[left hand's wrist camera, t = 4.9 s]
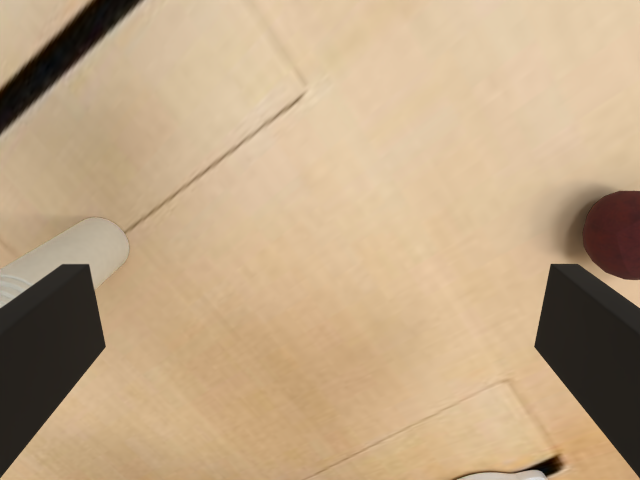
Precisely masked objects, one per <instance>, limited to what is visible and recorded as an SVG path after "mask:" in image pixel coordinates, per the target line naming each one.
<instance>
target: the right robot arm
mask: <svg viewBox="0 0 640 480" xmlns="http://www.w3.org/2000/svg"><path fill="white" fill-rule="evenodd" d="M457 480H548V479H547V477H546V476H545V475H544V474H543V473H542V472H541V471H539V470H529V471H524V472H519V473H513V474H509V473H497V472H486V473H477V474H472V475H468V476H465V477H462V478H459V479H457Z"/></svg>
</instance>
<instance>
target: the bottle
mask: <svg viewBox="0 0 640 480" xmlns="http://www.w3.org/2000/svg"><path fill="white" fill-rule="evenodd" d="M128 254H129V242H128V239H127V237H126V235H125V233H124V232H123V231H122V229H121V228H120V227H119V226H117V225H116V224H115V223H113V222H111V221H110V220H107V219H104V218H98V217H93V218H87V219H84V220H82V221H81V222H79V223H77V224H76V225H74V226H72V227H71V228H69V229H67V230H66V231H64V232H62V233H60V234H59V235H57V236H55V237H54V238H52V239H50V240H49V241H47V242H45V243H44V244H42V245H40V246H38V247H37V248H35V249H33V250H32V251H30V252H28V253H27V254H25V255H23V256H22V257H20V258H18V259H16V260H15V261H13V262H11V263H10V264H8V265H6V266H5V267H3V268H1V269H0V308H1V307H3V306H4V305H6V304H7V303H8V302H10V301H11V300H13V299H14V298H15V297H17V296H18V295H20V294H21V293H22V292H24V291H25V290H27V289H28V288H29V287H31V286H32V285H34V284H35V283H36V282H38V281H39V280H41V279H42V278H43V277H45V276H46V275H48V274H49V273H50V272H52V271H53V270H55V269H56V268H57V267H59V266H60V265H62V264H89V266H90V271H91V276H92V281H93V286H94V291H95V290H96V289H97V288H98V287H99V286H100V285H101V284H102V283H103V282H104V281H105V280H106V279H107V278H109V277H110V276H111V275H112V274H113V273H114V272H115V271H116V270H117V269H118V268H119V267H120V266H121V265H122V264H123V263H124V262H125V261H126V259H127V257H128Z"/></svg>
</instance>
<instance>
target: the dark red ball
mask: <svg viewBox="0 0 640 480" xmlns="http://www.w3.org/2000/svg"><path fill="white" fill-rule="evenodd" d="M583 241H584V248H585V250H586V252H587V253H588V255H589V256H590V258H591V259H592V261H593V262H594V263H595V264H597V265H598V266H599V267H600V268H601V269H602V270H604V271H605V272H606V273H609V274H612V275H614V276H617V277H620V278H622V279H628V280H640V191H618V192H615V193H612V194H609V195H607V196H604V197H603V198H601V199H600V200H599V201H598V202H597V203H595V204H594V205H593V207H592V208H591V210H590V212H589V213H588V215H587V218H586V222H585V225H584V229H583Z"/></svg>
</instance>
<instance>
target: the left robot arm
mask: <svg viewBox="0 0 640 480" xmlns="http://www.w3.org/2000/svg"><path fill="white" fill-rule="evenodd" d="M105 347H106V346H105V341H104V336H103V331H102V326H101V321H100V316H99V311H98V306H97V301H96V296H95V291H94V286H93V281H92V276H91V271H90V266H89V264H62V265H60V266H59V267H57V268H56V269H55V270H53V271H52V272H50V273H49V274H48V275H46V276H45V277H43V278H42V279H41V280H39V281H38V282H36V283H35V284H34V285H32V286H31V287H29V288H28V289H27V290H25V291H24V292H22V293H21V294H20V295H18V296H17V297H15V298H14V299H13V300H11V301H10V302H8V303H7V304H6V305H4V306H3V307H1V308H0V478H1V477H2V475H3V474H4V473H5V472H6V470H7V469H8V468H9V467H10V465H11V464H12V463H13V462H14V460H15V459H16V458H17V457H18V455H19V454H20V453H21V452H22V450H23V449H24V448H25V447H26V445H27V444H28V443H29V442H30V440H31V439H32V438H33V437H34V435H35V434H36V433H37V432H38V430H39V429H40V428H41V427H42V426H43V424H44V423H45V422H46V421H47V419H48V418H49V417H50V416H51V414H52V413H53V412H54V411H55V409H56V408H57V407H58V406H59V404H60V403H61V402H62V401H63V399H64V398H65V397H66V396H67V394H68V393H69V392H70V391H71V389H72V388H73V387H74V386H75V384H76V383H77V382H78V381H79V379H80V378H81V377H82V376H83V374H84V373H85V372H86V371H87V369H88V368H89V367H90V366H91V364H92V363H93V362H94V361H95V360H96V358H97V357H98V356H99V355H100V353H101V352H102V351H103V350H104V348H105ZM534 347H535V348H536V350H537V351H538V352H539V353H540V355H541V356H542V357H543V358H544V360H545V361H546V362H547V363H548V364H549V366H550V367H551V368H552V369H553V371H554V372H555V373H556V374H557V376H558V377H559V378H560V379H561V381H562V382H563V383H564V384H565V386H566V387H567V388H568V389H569V391H570V392H571V393H572V394H573V396H574V397H575V398H576V399H577V401H578V402H579V403H580V404H581V406H582V407H583V408H584V409H585V411H586V412H587V413H588V414H589V416H590V417H591V418H592V419H593V421H594V422H595V423H596V424H597V426H598V427H599V428H600V429H601V430H602V432H603V433H604V434H605V435H606V437H607V438H608V439H609V440H610V442H611V443H612V444H613V445H614V447H615V448H616V449H617V450H618V452H619V453H620V454H621V455H622V457H623V458H624V459H625V460H626V462H627V463H628V464H629V465H630V467H631V468H632V469H633V470H634V472H635V473H636V474H637V475H638V477H639V478H640V308H639V307H637V306H636V305H634V304H633V303H632V302H630V301H629V300H627V299H626V298H625V297H623V296H622V295H620V294H619V293H618V292H616V291H615V290H613V289H612V288H611V287H609V286H608V285H606V284H605V283H604V282H602V281H601V280H599V279H598V278H597V277H595V276H594V275H592V274H591V273H590V272H588V271H587V270H585V269H584V268H583V267H581V266H580V265H578V264H551V266H550V271H549V276H548V281H547V286H546V291H545V296H544V301H543V306H542V311H541V316H540V321H539V326H538V331H537V336H536V341H535V346H534Z"/></svg>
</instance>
